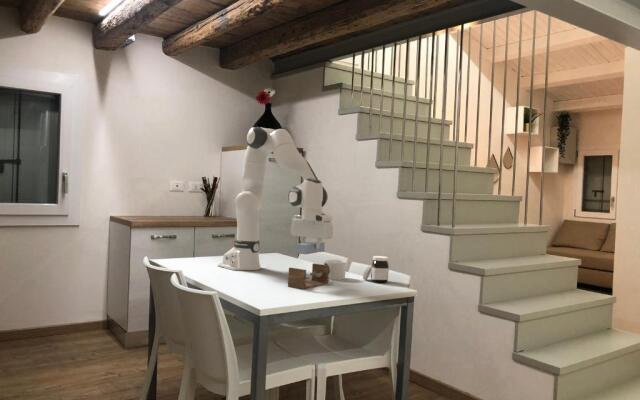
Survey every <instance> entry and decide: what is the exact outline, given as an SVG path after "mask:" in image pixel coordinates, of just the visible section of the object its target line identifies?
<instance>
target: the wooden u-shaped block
mask: <svg viewBox="0 0 640 400" xmlns="http://www.w3.org/2000/svg"><path fill="white" fill-rule="evenodd" d="M309 275H310V276H311V279H309V276H308V275H307V269H303V268H296V267H289V268H288V279H287V280H288V281H287V287H289V288H295V289H300V290H307V289H310V288H311V289H312V288H315V287H319V286H320V287H321V286H324V285H328V284H329V281H330V279H329V266H328V265H324V264H320V263H312V267H311V272H310V273H309Z"/></svg>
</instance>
